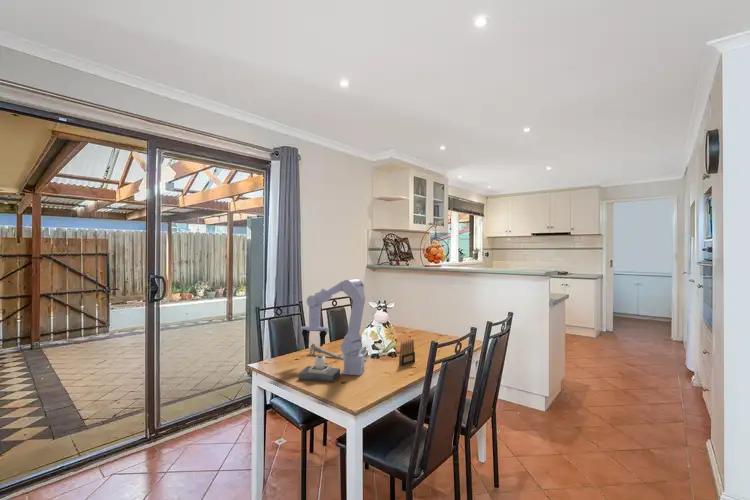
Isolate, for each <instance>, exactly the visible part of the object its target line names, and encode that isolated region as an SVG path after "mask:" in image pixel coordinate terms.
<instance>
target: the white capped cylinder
mask: <svg viewBox="0 0 750 500" xmlns="http://www.w3.org/2000/svg"><path fill="white" fill-rule="evenodd" d="M314 365H315V369H317V370H324V369H325V365H326V356H324V354H323V353H322V354H321V353H318V354H317V356H315V359H314Z"/></svg>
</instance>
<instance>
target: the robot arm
mask: <svg viewBox="0 0 750 500" xmlns="http://www.w3.org/2000/svg"><path fill="white" fill-rule="evenodd" d="M364 289H365V284H364V283H363V280H361V279H360V278H355V279H345V280H342V281H340V282H338V283H337V284H335V285H334V286H332V287H330V288H329V289H328V288H321V289H320V291H318V292H314V295H313V294H311V295H308V297H307V298H306V304H307V306H308V325H305V326H300V331H301V334H302V337H303V339H304V342H305V345H306V346H309V345H310V333H311V332H319V333H318V334H319V340H320V341H319V346H320V347H323V345H324V342H325V339H326V336H327V334H328V333H329V331H330V328H329V327H325V326H321V309H322V305H323V304H324V303H325V302H328V301H329V300H331V299H332V297H333V295H336V294H338V293H340V292H343V293H344V294H345V295H346V296H348V297H349V298H350V299H351V300H352V304H351V311H350V316H349V322H348V329H347V333H346V335H345V336H344V337H343V340H342V341H341V342H342V343H341V345H340V350H341V352H342V354H343V355H344V360H343V370H342V371H341V372H340V375H351V376H362V374H363V373H364V372H365V370H366V369H365V361H364V355H363V354H360V353H359V352H360V349H361V348H362V347H363V342H362V341H363V340H362V338H363V337H362V335H361V334H360V330H361V325H362V321H363V314H364V313H363V312H364V307H365V303H366V295H365V290H364Z"/></svg>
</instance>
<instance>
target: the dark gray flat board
mask: <svg viewBox="0 0 750 500" xmlns="http://www.w3.org/2000/svg"><path fill="white" fill-rule="evenodd" d="M340 376H341V368H335V367H332V364H331V365H330V364H325V369H324V370H317V369H315V364H313V365H312V366H310V365H308V366H306V367H305V368H303V369H302V370H301V371H300V372H298V380H299V381H311V382H318V383H319V382H321V383H333V384H334V382H335V381H336V380H337V379H338V378H339V377H340Z"/></svg>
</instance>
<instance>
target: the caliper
mask: <svg viewBox="0 0 750 500" xmlns="http://www.w3.org/2000/svg"><path fill="white" fill-rule="evenodd" d="M316 352H317V353H318V354H321V353H322V354H323V355H326V356H329V357H332V358H334V359H339V360H342V359H341V358H339V357H340V356H341V355H338V354H335V353H332V352H330V351H327V350H325V349H323V348H321V347H319V346H316V343H314V342H313V343H311V344H310V347H309V354H310V355H315V354H316Z"/></svg>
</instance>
